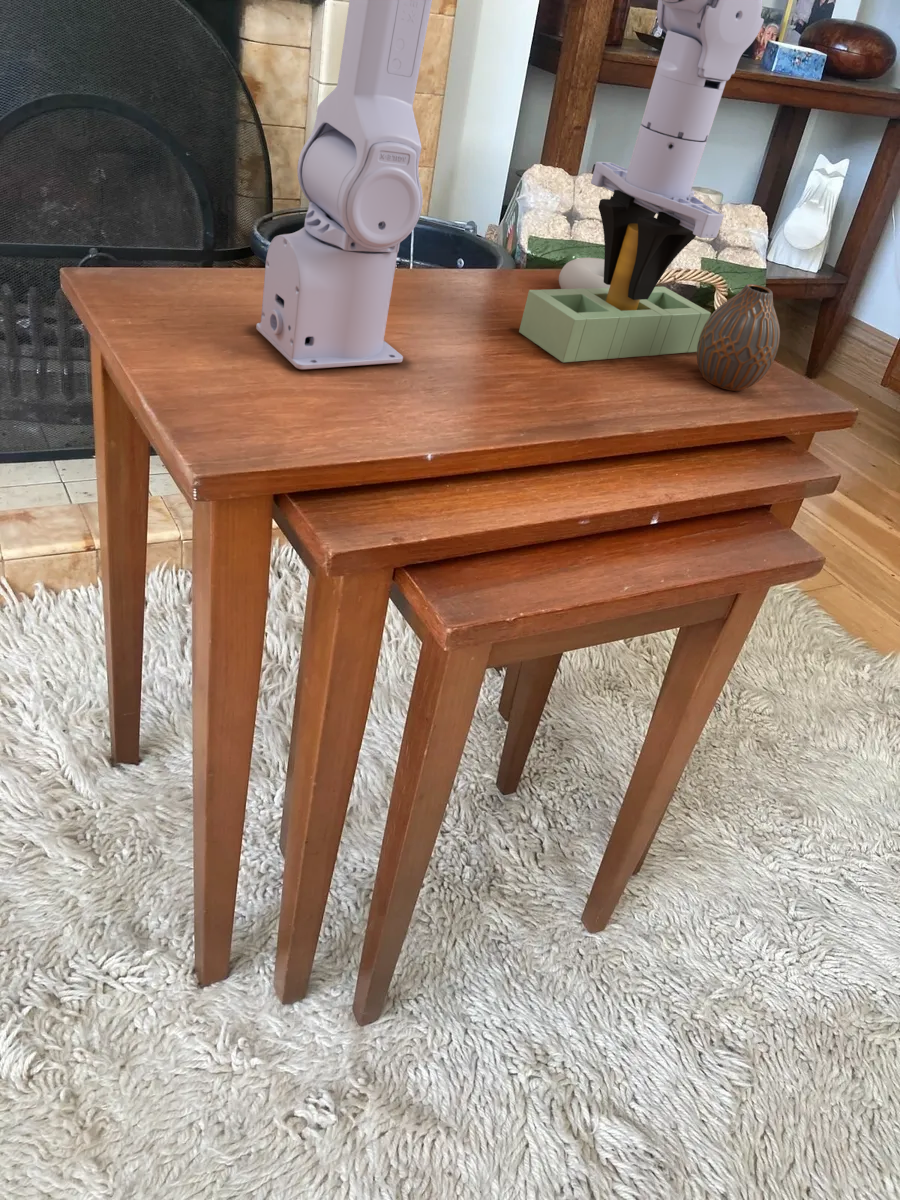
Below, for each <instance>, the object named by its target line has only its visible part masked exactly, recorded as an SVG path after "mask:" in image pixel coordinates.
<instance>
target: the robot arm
mask: <svg viewBox="0 0 900 1200" xmlns="http://www.w3.org/2000/svg"><path fill="white" fill-rule="evenodd" d="M432 4H433V0H348V7H347V16H346V20H345V21H346V23H345V29H344V36H343V43H342V48H341V49H342V51H341V58H340V65H339V69H338V70H339V72H338V79H337V85H336V86H335V88H334V89H333V90H332V91H331V92H330V93H329V94H328V95H327V96H326V97H325V98H324V99H323V100H322V101H320V102H319V104H318V105H317V109H316V116H315V122H314V126H313V129H312V131H311V133H310V136H309V137H308V139H307V140H306V142H305V143H304V145H303V147H302V149H301V150H300V154H299V157H298V162H297V168H296V169H297V181H298V184H299V187H300V189H301V192H302V194H303V196H304V197H305V198H306V199H307V201H308V208H307V211H306V213H305V218H304V225H303V227H302V228H300V229H299V230H297V231H295V232H294V231H293V232H292V233H283V234H279V235H276V236H274V237H273V238H272V240H271V241H270V243H269V246H268V249H267V252H266V257H265V268H264V279H263V291H262V303H261V315H260V322H258V323H256V327H255V329H256V330H257V331H258V332H259V334H261V335H262V336H263V338H265V339H266V340H267V341H268V342H269V343H270V344H271V345H272V346H273V347H274V348H275V349H276V350H277V351H278V352H279V353H280V354H281V355H282V356H283V357H284V358H285V359H287V361H289V362H290V363H291V365H293V366H294V367H295V368H296V369H297V370H315V369H330V368H342V367H343V368H344V367H355V366H356V367H357V366H372V365H385V364H399V363H403V360H404V356H403V355H402V354H401V353H400V352H398V351H397V350H396V349H395V348H394V347H393V346H391V345H390V344H389V343H388V342H386V341H385V334H386V330H387V323H388V317H389V309H390V303H391V298H392V297H391V296H392V290H393V285H394V280H395V279H394V278H395V271H396V266H397V259H398V255H399V254H398V253H399V252H400V251H399V250H400V245H401V243H402V242H403V241H404V240H406V239H407V238H408V237H409V235H410V234H412V233H413V230H414V229H415V228H416V226H417V224H418V222H419V220H420V217H421V214H422V210H423V203H424V202H423V201H424V197H423V189H422V184H421V180H420V173H419V165H420V158H421V153H422V142H421V137H420V133H419V129H418V125H417V120H416V117H415V113H414V100H415V96H416V90H417V84H418V79H419V74H420V69H421V63H422V58H423V52H424V46H425V41H426V37H427V36H426V35H427V31H428V25H429V20H430V15H431V10H432V9H431V8H432ZM762 13H763V0H657V7H656V16H657V23H658V27H659V29H661V30H663V31H664V33H665V37H664V41H663V45H662V47H661V51H660V55H659V59H658V62H657V65H656V69H655V73H654V77H653V79H652V84H651V87H650V90H649V94H648V98H647V101H646V105H645V109H644V112H643V116H642V119H641V123H640V126H639V129H638V133H637V136H636V140H635V142H634V147H633V150H632V154H631V157H630V160H629V163H628V168H626V167H623V166H621V165H618V164H616V163H614V162H611V161H609V162H608V161H596V162H595V165H594V169H593V173H592V177H591V181H590V184H591V185H592V186H595V187H599V188H604V189H606V190H608V191H610V192H613V193H612V196H610V198H601V199H600V200H599V202H598V211H599V215H600V219H601V223H602V229H603V240H604V241H603V242H604V259H605V260H604V283H605V284H607V285H610V284H611V281H612V278H613V274H614V271H615V267H616V264H617V260H618V257H619V254H620V250H621V247H622V243H623V240H624V237H625V233H626V230H627V226H628V224H632V223H634V224H638V246H637V254H636V260H635V265H634V269H633V272H632V276H631V280H630V284H629V290H628V297H629V298H631V299H633V300H642V299H648V298H649V296H650V295H651V293H652V291H653V290H654V288H655V287H657V284H658V283H659V282H660V280H661V278H662V277H663V275H664V273H665V272H666V270H667V269H668V268H669V266H670V265H671V264H672V263H673V261H674V260H675V259H676V258H677V256H678V255H679V254H680V252H682V251H683V250H684V249H685V248H686V246H688V245H689V244H690V243H691V242H692V241H693V240H695V238H696V237H698V238H700V239H717V237H718V234H719V230H720V228H721V225H722V222H723V220H724V217H725V215H724V214H723V213H721V212H719V211H717V210H715V209H714V208H712V207H711V206H709V205H708V204H706V203H705V202H703V200H700V199H699V198H697V197H696V196H695V192H696V191H695V190H693V189H692V188H693V185H694V182H695V180H696V176H697V173H698V170H699V167H700V164H701V160H702V157H703V154H704V151H705V148H706V145H707V142H708V139H709V136H710V132H711V130H712V126H713V124H714V120H715V117H716V115H717V111H718V109H719V105H720V102H721V99H722V96H723V93H724V90H725V87H726V84H727V82H728V81H729V80H730V79H731V77H732V75H735V74H736V73H735V72H736V70H737V67H738V64H739V61H740V59H741V57H742V55H743V54H744V53H745V52H746V51H747V49H749V47H750V46H751V45H752V44H753V42H754V41H755V40H756V38H757V37H758V35H759V33H760V31H761V29H762V27H763V24H764V22H765V19H764V18H763V17H762ZM656 215H657V216H656ZM655 216H656V217H655Z"/></svg>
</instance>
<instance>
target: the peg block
mask: <svg viewBox="0 0 900 1200" xmlns="http://www.w3.org/2000/svg"><path fill="white" fill-rule="evenodd" d="M608 291H609V288H590V289H561V288H553V289H549V288H548V289H529V290H528V293H527V297H526V302H525V306H524V310H523V313H522V317H521V321H520V324H519V325H520V326H519V330H518V333H519V334H521V335H522V336H524V337H525V338H526V339H528V340H529V341H530V342H532V343H534V344H536V345H537V346H538V347H540V348H541V349H542V350H544V351H545V352H547V353H548V354H550V355H551V356H553V357H554V359H557V360H558V361H559V362H561V363H564V364H565V363H573V362H574V363H575V362H576V363H577V362H588V361H602V360H614V359H626V358H639V357H650V356H652V357H653V356H663V355H676V354H686V353H687V354H689V353H697V346H698V341H699V337H700V334H701V332H702V329H703V327H704V325H705V323H706V322H707V320H708V319H709V317H710V316H711V315H712V313H711V312H710V311H709V310H707V309H705V308H703V307H701V306H700V305H698V304H697V303H694V302H692V301H691V300H689V299H687V298H685V297H684V296H682V295H680V294H678V293H677V292H675V291H673V290H671V289H669V288H667V287H666V286H655V288H654V290H653V291H652V293H651V295H650V296H649V298H648V299H642V300H640V301H639V304H638V308H637V310H627V311H620V310H619V309H617V308H615V307H614V306H612V305H611V304H609V303H607V302H606V298H607V295H608Z"/></svg>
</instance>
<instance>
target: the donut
mask: <svg viewBox="0 0 900 1200" xmlns="http://www.w3.org/2000/svg"><path fill="white" fill-rule="evenodd" d="M604 260H605V258H599V257H578V258H575V259H572V260H570V261H568V262H566V263H565V264H564V265H563V267H562V268H561V270H560V272H559V275H558V285H559V287H560V289H590V288H610V285H607V284H605V283H604Z"/></svg>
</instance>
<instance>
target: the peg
mask: <svg viewBox="0 0 900 1200" xmlns="http://www.w3.org/2000/svg"><path fill="white" fill-rule="evenodd" d="M637 246H638V224H634V223H632V224H628V226H627V230H626V233H625V237H624V240H623V243H622V247H621V250H620V254H619V257H618V260H617V264H616V267H615V271H614V274H613V278H612V281H611V284H610V288H609V291H608V295H607V298H606V302H607V303H609V304H611V305H612V306H614V307H615V308H617V309H619V310H620V311H627V310H637V308H638V304H639V301H640V300H633V299H631V298H629V297H628V290H629V284H630V280H631V276H632V272H633V269H634V265H635V260H636V254H637Z"/></svg>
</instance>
